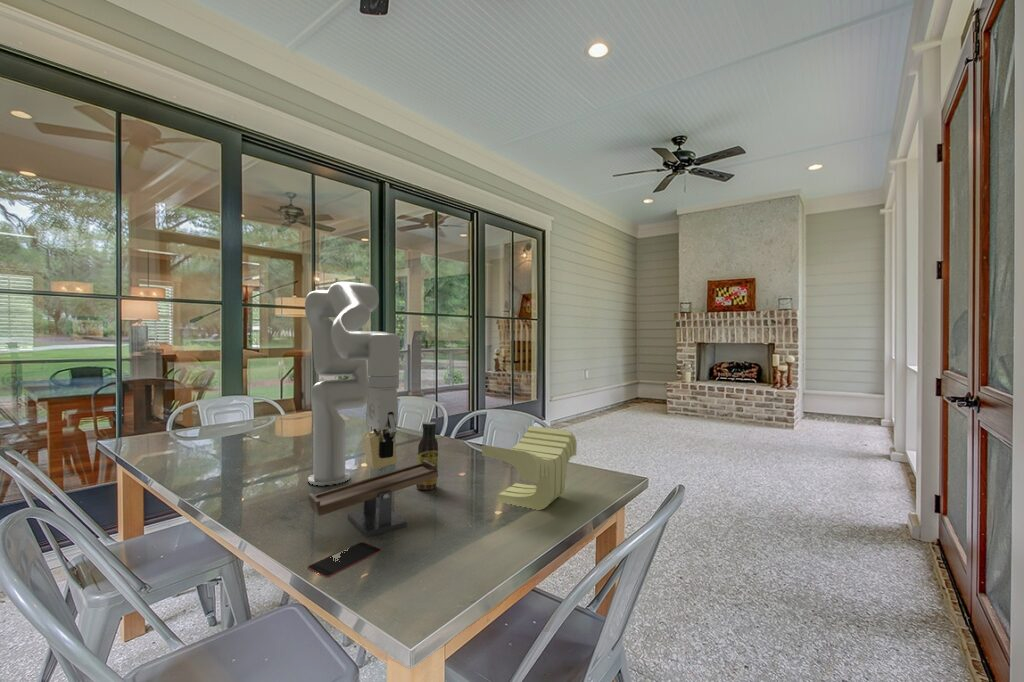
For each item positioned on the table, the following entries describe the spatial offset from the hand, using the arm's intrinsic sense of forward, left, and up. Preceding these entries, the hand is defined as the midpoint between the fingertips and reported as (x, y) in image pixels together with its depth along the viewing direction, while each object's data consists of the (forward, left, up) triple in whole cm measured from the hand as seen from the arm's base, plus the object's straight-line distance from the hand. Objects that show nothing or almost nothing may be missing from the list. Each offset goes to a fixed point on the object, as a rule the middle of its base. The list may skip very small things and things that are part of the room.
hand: (382, 453), depth 116 cm
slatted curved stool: (+10, +41, -17) cm, 45 cm away
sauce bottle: (-16, +21, -17) cm, 31 cm away
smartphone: (+14, -13, -17) cm, 26 cm away
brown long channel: (0, -1, -9) cm, 9 cm away
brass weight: (0, 0, -2) cm, 2 cm away
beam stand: (0, -1, -17) cm, 17 cm away
